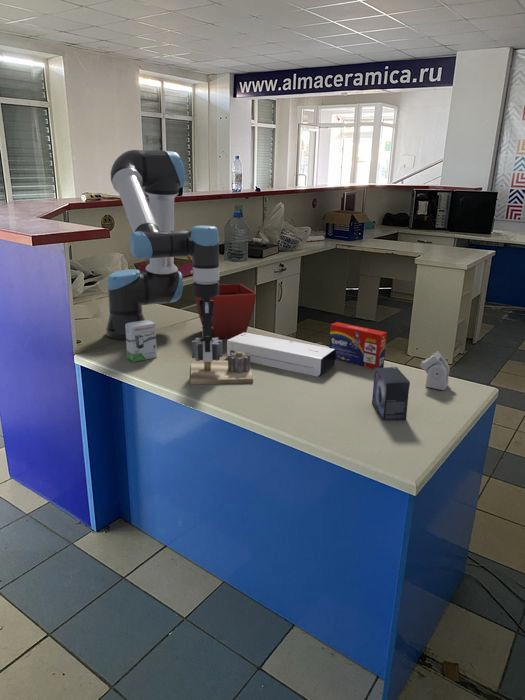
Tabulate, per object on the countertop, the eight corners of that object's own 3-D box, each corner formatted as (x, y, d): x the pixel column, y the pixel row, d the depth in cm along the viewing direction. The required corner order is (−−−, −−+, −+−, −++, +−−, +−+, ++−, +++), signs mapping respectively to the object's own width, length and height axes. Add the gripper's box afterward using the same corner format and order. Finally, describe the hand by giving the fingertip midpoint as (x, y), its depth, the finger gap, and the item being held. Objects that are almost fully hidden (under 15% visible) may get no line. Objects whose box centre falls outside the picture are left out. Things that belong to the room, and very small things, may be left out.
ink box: (133, 362, 168) (131, 326, 164) (126, 358, 172) (124, 323, 168) (157, 357, 173) (156, 322, 170) (150, 353, 177) (148, 319, 173)
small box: (369, 403, 142) (373, 366, 138) (393, 402, 142) (397, 366, 139) (381, 421, 132) (385, 382, 128) (407, 420, 132) (411, 381, 129)
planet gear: (192, 352, 162) (192, 336, 160) (221, 351, 163) (221, 336, 161) (192, 362, 153) (191, 345, 152) (222, 361, 154) (222, 345, 153)
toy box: (383, 367, 168) (387, 332, 165) (377, 370, 165) (381, 335, 162) (334, 354, 179) (336, 321, 175) (328, 357, 176) (330, 324, 172)
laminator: (334, 367, 168) (336, 348, 166) (319, 379, 158) (320, 360, 156) (244, 348, 184) (244, 331, 182) (224, 358, 174) (224, 341, 172)
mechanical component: (444, 391, 150) (448, 358, 147) (416, 385, 154) (420, 353, 151) (447, 385, 155) (452, 353, 151) (421, 380, 158) (424, 348, 155)
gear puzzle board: (191, 365, 167) (190, 344, 165) (248, 363, 169) (248, 343, 167) (190, 384, 152) (190, 362, 150) (252, 382, 154) (253, 361, 152)
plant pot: (240, 324, 212) (240, 282, 206) (256, 338, 195) (257, 293, 190) (193, 328, 205) (192, 285, 200) (206, 342, 189) (205, 296, 183)
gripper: (193, 274, 161) (194, 345, 168) (192, 289, 140) (194, 369, 147) (217, 274, 162) (218, 344, 169) (220, 289, 141) (221, 368, 148)
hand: (207, 356), depth 158 cm, fingers closed on planet gear, 9 cm apart
